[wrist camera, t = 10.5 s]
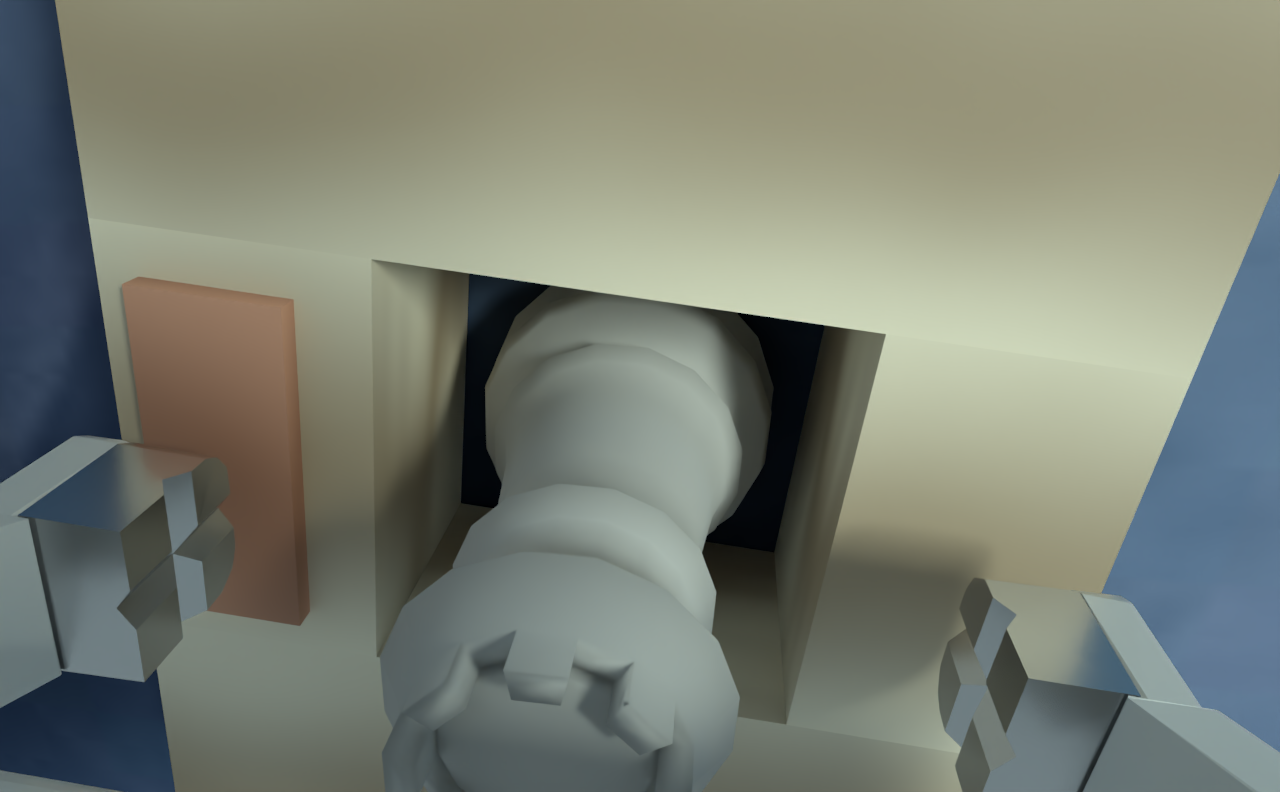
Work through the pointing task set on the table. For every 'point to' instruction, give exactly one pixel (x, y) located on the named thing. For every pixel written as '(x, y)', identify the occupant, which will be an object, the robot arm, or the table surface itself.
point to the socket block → (669, 272)
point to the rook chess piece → (587, 561)
